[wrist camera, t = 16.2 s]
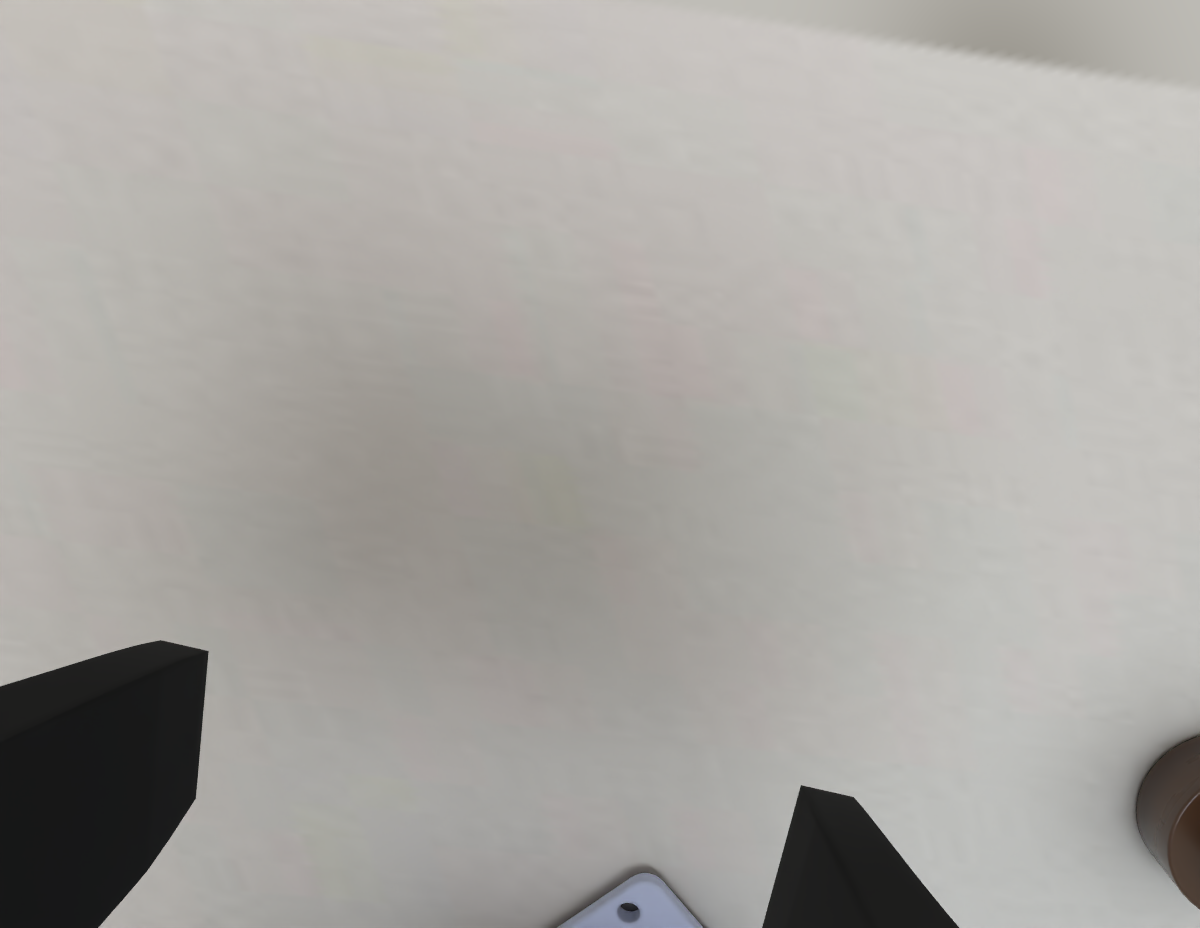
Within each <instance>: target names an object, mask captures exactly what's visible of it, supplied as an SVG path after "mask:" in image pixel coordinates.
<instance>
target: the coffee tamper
mask: <svg viewBox="0 0 1200 928" xmlns="http://www.w3.org/2000/svg"><path fill="white" fill-rule="evenodd" d="M1137 821H1138V827H1139V830H1140V833H1141V836H1142V838H1143V840H1144V842H1145V845H1146V846H1147V848H1148V849H1149V850H1150V852H1151V853H1152V855H1153V856H1154V857H1155V859H1156V860H1157V861H1158V862H1159V864H1160V865H1161V866H1162V868H1163V869H1164V870H1165V872H1166V873H1167V874H1168V875H1169V877H1170V878H1171V879H1172V881H1173V882H1174V883H1175V885H1176V886H1177V887H1178V888H1179V890H1180V891H1181V892H1182V894H1183V895H1184V896H1185V897H1186V898H1187V899H1188V900H1189V901H1190V902H1191V903H1192V904H1194V905H1195V906H1196V907H1197V908H1198V909H1200V736H1198V737H1195V738H1193V739H1190V740H1188V741H1186V742H1184V743H1182V744H1180V745H1178V746H1176V747H1175V748H1173V749H1172V750H1170V751H1169V752H1168V753H1166V754H1165V755H1164V756H1163V757H1162V758H1161V759H1160V760H1159V761H1158V762H1157V763H1156V764H1155V765H1154V766H1153V767H1152V769H1151V770H1150V772H1149V773H1148V775H1147V776H1146V778H1145V780H1144V782H1143V784H1142V786H1141V789H1140V793H1139V796H1138V802H1137Z"/></svg>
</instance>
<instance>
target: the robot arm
mask: <svg viewBox="0 0 1200 928" xmlns="http://www.w3.org/2000/svg"><path fill="white" fill-rule="evenodd" d="M207 662H208V651H205V650H201V649H197V648H192V647H188V646H183V645H179V644H174V643H170V642H166V641H161V640H160V641H155V642H150V643H145V644H141V645H137V646H133V647H129V648H125V649H122V650H118V651H115V652H111V653H108V654H104V655H101V656H98V657H94V658H91V659H88V660H85V661H81V662H78V663H75V664H72V665H68V666H65V667H62V668H59V669H56V670H52V671H49V672H46V673H43V674H39V675H36V676H33V677H30V678H26V679H23V680H20V681H17V682H14V683H10V684H7V685H4V686H1V687H0V928H98V927H99V926H100V925H101V924H102V923H103V921H104V920H105V919H106V918H107V917H108V916H109V915H110V913H111V912H112V911H113V910H114V909H115V908H116V907H117V905H118V904H119V903H120V902H121V901H122V900H123V898H124V897H125V896H126V895H127V894H128V893H129V892H130V890H131V889H132V888H133V887H134V886H135V885H136V883H137V882H138V881H139V880H140V879H141V877H142V876H143V875H144V874H145V873H146V872H147V870H148V869H149V868H150V866H151V865H152V863H153V862H154V860H155V859H156V857H157V856H158V855H159V853H160V852H161V850H162V849H163V847H164V846H165V845H166V843H167V842H168V840H169V839H170V837H171V836H172V834H173V833H174V831H175V830H176V828H177V827H178V825H179V823H180V822H181V820H182V819H183V817H184V816H185V814H186V813H187V811H188V810H189V808H190V807H191V805H192V803H193V802H194V800H195V799H196V789H197V778H198V766H199V755H200V743H201V732H202V720H203V708H204V697H205V685H206V674H207ZM626 902H627V903H633V904H634V905H636V906H637V907H638V910H636V911H633V912H630V911H625V910H624V909H623V908H621V906H620V905H621V904H624V903H626ZM557 928H703V927H702V925H701V924H700V923H699V922H698V921H697V920H696V918H695V917H694V916H693V915H692V914H691V913H690V911H689V910H688V909H687V908H686V907H685V906H684V905H683V903H682V902H681V901H680V900H679V899H678V898H677V896H676V895H675V894H674V893H673V892H672V891H671V890H670V888H669V887H668V886H667V885H666V884H665V883H664V881H663V880H661V879H660V878H659V877H658V876H656V875H653V874H650V873H639V874H637V875H635V876H632V877H631V878H629V879H628V880H626V881H625V882H624V883H622V884H621V885H619V886H618V887H616V888H615V889H613V890H612V891H610V892H609V893H607V894H606V895H604V896H603V897H601V898H600V899H598V900H597V901H595V902H594V903H593V904H591V905H590V906H588V907H587V908H585V909H584V910H582V911H581V912H579V913H578V914H576V915H575V916H573V917H572V918H570V919H569V920H567V921H566V922H564V923H563V924H562V925H560V926H559V927H557ZM762 928H959V927H958V926H957V925H956V923H955V922H954V921H953V920H952V919H951V918H950V916H949V915H948V914H947V913H946V912H945V910H944V909H943V908H942V907H941V906H940V904H939V903H938V902H937V901H936V899H935V898H934V897H933V896H932V895H931V893H930V892H929V891H928V890H927V888H926V887H925V886H924V885H923V883H922V882H921V881H920V880H919V878H918V877H917V876H916V875H915V873H914V872H913V871H912V870H911V868H910V867H909V866H908V865H907V863H906V862H905V861H904V859H903V858H902V857H901V856H900V854H899V853H898V852H897V851H896V849H895V848H894V847H893V845H892V844H891V843H890V842H889V840H888V839H887V838H886V836H885V835H884V834H883V833H882V831H881V830H880V829H879V827H878V826H877V825H876V824H875V822H874V821H873V820H872V819H871V817H870V816H869V815H868V814H867V812H866V811H865V810H864V809H863V807H862V806H861V805H860V804H859V803H858V802H857V800H856V799H855V798H854V797H850V796H846V795H842V794H837V793H833V792H828V791H824V790H820V789H815V788H811V787H806V786H802V785H801V787H800V791H799V795H798V798H797V802H796V806H795V809H794V813H793V817H792V820H791V824H790V828H789V831H788V835H787V839H786V842H785V846H784V850H783V853H782V857H781V861H780V864H779V868H778V872H777V875H776V879H775V883H774V886H773V890H772V894H771V897H770V901H769V905H768V908H767V912H766V916H765V919H764V923H763V927H762Z"/></svg>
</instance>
